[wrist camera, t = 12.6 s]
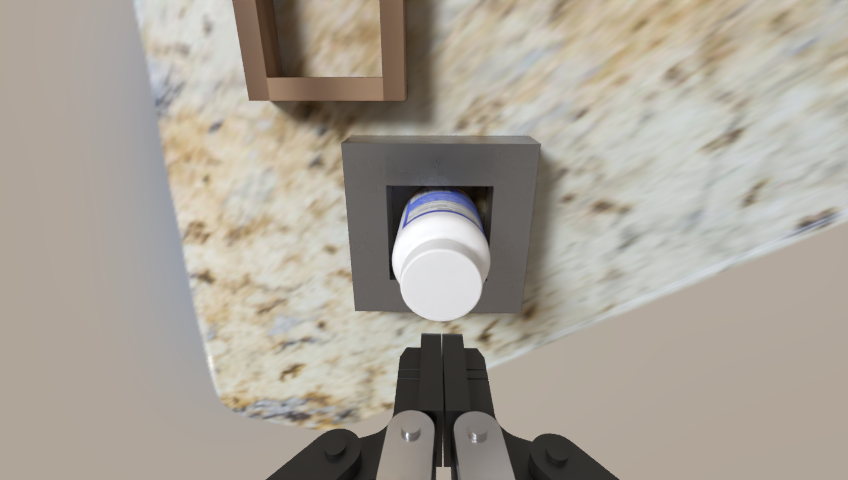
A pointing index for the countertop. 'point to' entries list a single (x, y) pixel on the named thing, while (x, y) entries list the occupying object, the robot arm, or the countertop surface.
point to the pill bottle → (441, 253)
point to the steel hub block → (439, 166)
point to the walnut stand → (271, 86)
